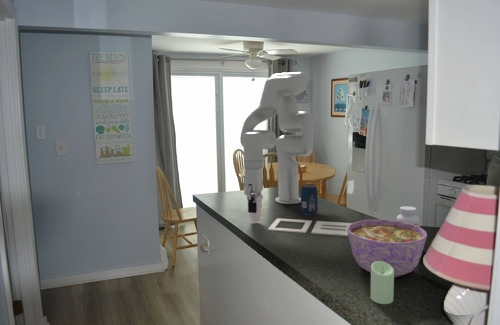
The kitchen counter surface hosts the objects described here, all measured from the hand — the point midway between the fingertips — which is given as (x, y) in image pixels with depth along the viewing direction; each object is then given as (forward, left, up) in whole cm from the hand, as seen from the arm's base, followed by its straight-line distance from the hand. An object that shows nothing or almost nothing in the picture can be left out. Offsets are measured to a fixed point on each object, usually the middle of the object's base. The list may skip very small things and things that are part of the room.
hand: (255, 209), depth 150 cm
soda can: (-19, +18, -6) cm, 27 cm away
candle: (+50, +46, -6) cm, 68 cm away
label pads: (0, +22, -5) cm, 23 cm away
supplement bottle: (+14, +54, -6) cm, 56 cm away
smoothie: (0, 0, -4) cm, 4 cm away
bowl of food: (+34, +47, -6) cm, 58 cm away
